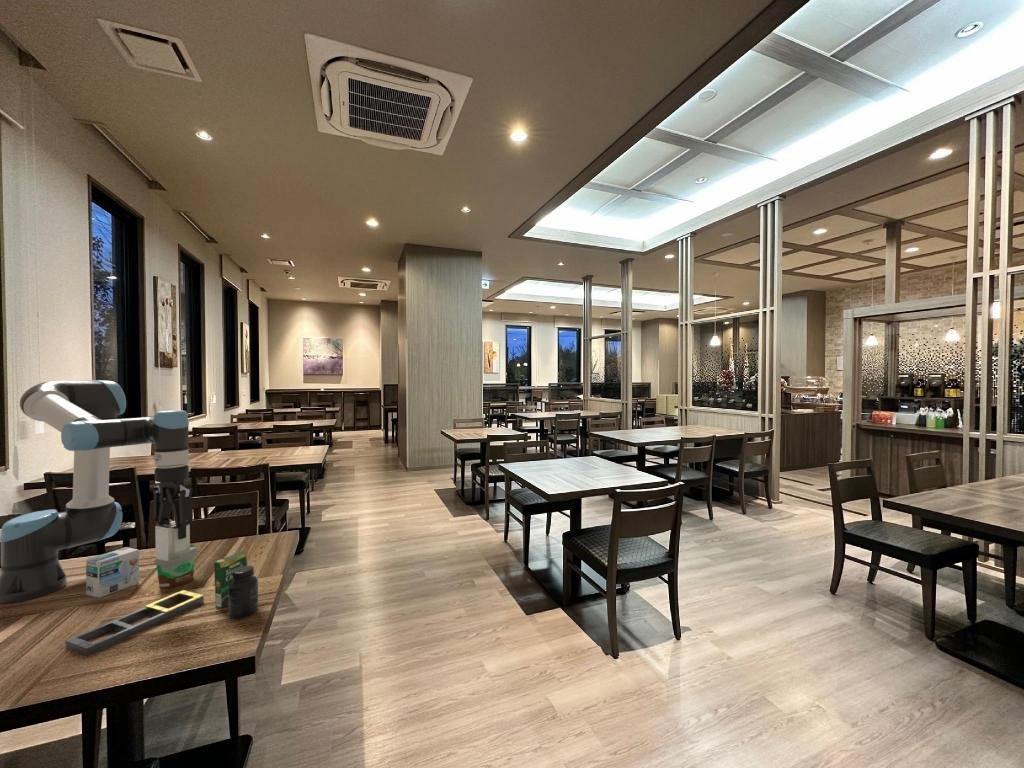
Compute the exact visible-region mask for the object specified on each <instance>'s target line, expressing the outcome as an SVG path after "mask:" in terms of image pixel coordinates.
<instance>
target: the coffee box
mask: <svg viewBox="0 0 1024 768" xmlns="http://www.w3.org/2000/svg"><path fill="white" fill-rule="evenodd" d="M247 559H248V558H247V552H244V551H238V552H236V553H234V554H232V555H229V556H226V557H224V558H221V559H218V560H216V561H214V563H213V565H214V572H213V573H214V594H215V598H214V599H215V601H214V602H215V608H217V609H221V610H222V609H224V608H226V607H229V591H228V588H229V584H230V582H231V581H232V580H233V570H235V569H236V568H239V567H243V566H248V562H247Z"/></svg>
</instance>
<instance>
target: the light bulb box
mask: <svg viewBox="0 0 1024 768" xmlns="http://www.w3.org/2000/svg"><path fill="white" fill-rule="evenodd" d="M85 562H86V563H85V565H86V566H85V578H86V579H85V582H86V583H85V585H86V586H85V587H86V588H85V593H86V596H91V597H95V598H97V599H100V598H102V597H105V596H108V595H110V594H114V593H116V592H119V591H122V590H124V589H127V588H130V587H132V586H135V585H137V584H139V583H140V550H139V549H137V548H133V547H132V548H131V547H128V546H125V547H122V548H120V549H116V550H112V551H110V552H107V553H103V554H100V555H96V556H93V557H90V558H86V559H85Z"/></svg>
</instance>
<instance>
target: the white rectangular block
mask: <svg viewBox="0 0 1024 768" xmlns="http://www.w3.org/2000/svg"><path fill="white" fill-rule="evenodd" d="M190 525H191V524H189V525H187V526H186V549H184V550H181V551H178V552H174V529H173V527H175V526H176V524H175V520H172V522H168V523H164V524H161V525H158V524H157V525H155V527H154V528H155V533H154V535H155V537H154V538H155V539H154V540H155V560H156V559H160V560H164V561H171V560H174V559H177V558H179V557H182V556H185V555H188V554H190V544H191V537H190V536H191V532H190V528H191V527H190Z"/></svg>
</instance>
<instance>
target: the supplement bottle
mask: <svg viewBox="0 0 1024 768" xmlns="http://www.w3.org/2000/svg"><path fill="white" fill-rule="evenodd" d="M228 591H229V606H228V617H229V618H230V619H233V620H243V619H246V618H249V617H251V616H253V615H255V614H256V613H257V612H258V611H259V580H258V577H257V576H255V570H254V566H253V565H247V566H243V567H239V568H236V569H235V570H233V580H232V581H231V582H230V584H229V588H228Z"/></svg>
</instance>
